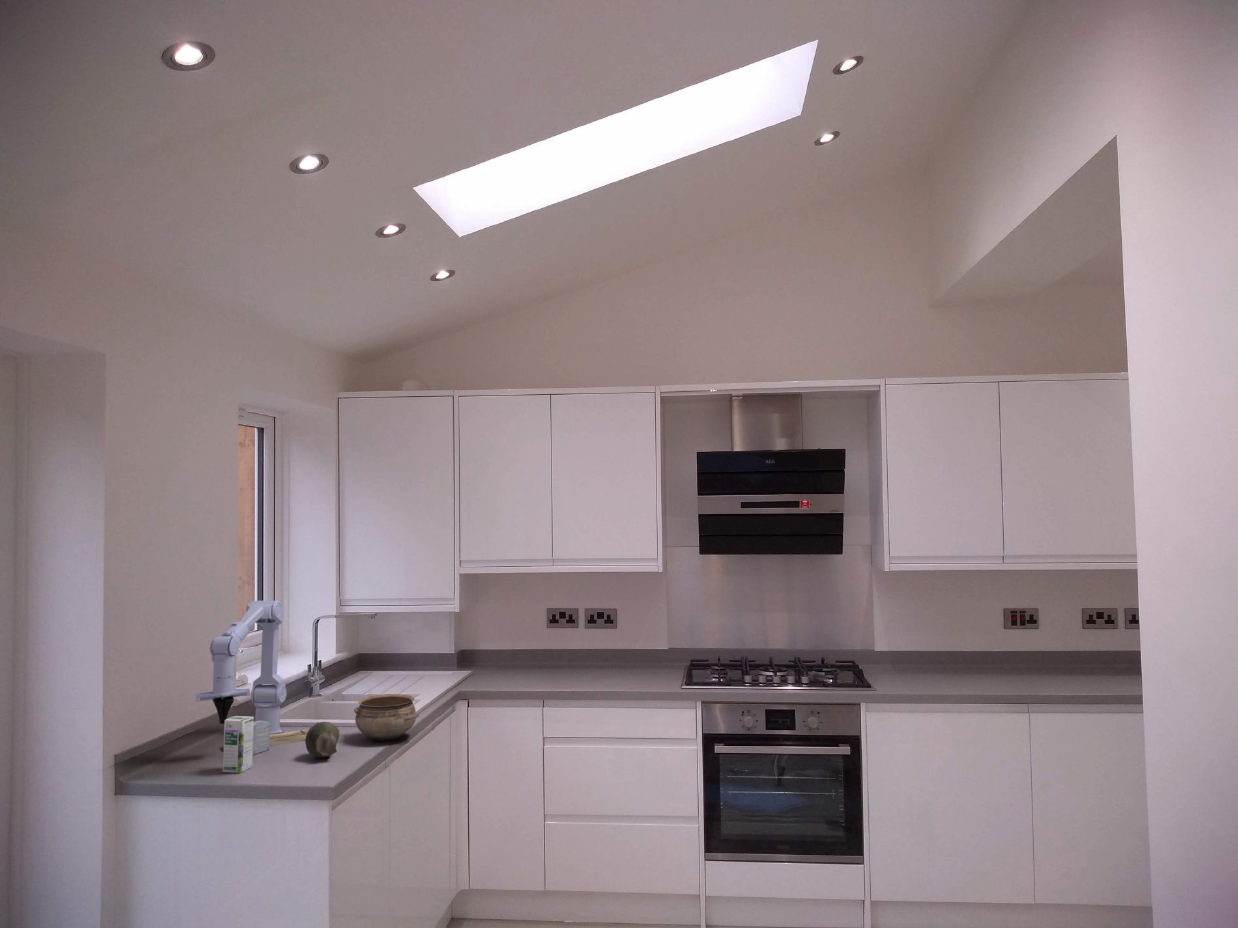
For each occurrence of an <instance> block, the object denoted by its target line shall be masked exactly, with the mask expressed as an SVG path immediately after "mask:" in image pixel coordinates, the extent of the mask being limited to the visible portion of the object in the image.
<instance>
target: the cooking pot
mask: <svg viewBox="0 0 1238 928" xmlns="http://www.w3.org/2000/svg"><path fill="white" fill-rule="evenodd" d="M414 701H415V697H414V696H412V695H407V694H401V693H400V694H398V693H393V694H392V693H390V694H389V693H388V694H387V693H386V694H377V695H370V696H367V697H363V698H361V699H359V700H358V701H357V703H358V705H359V706H356V707H354V708H353V711H354V713H355V718H354V720H355V721H354V722H355V726H356V728H357V729H358V731H360V732H361V733H362V734H364V736H367V737H368V738H371V739H373V740H375V741H376V740H377V741H376V742H391V741H395V740H396V739H397V738H399V737H401V736H402V735H404V734H405V733H407V732H409V731H410V730H411V728H413V726H414V725H415V723H416V720H417V718H419V717H420V714H419V713H417V711H416V707H415V705H414Z"/></svg>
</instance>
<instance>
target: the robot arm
mask: <svg viewBox="0 0 1238 928" xmlns="http://www.w3.org/2000/svg"><path fill="white" fill-rule="evenodd" d="M283 620H284V605H283V603H282V602H281V601H280V600H278V599H276V600H256V599H255V600H254V599H252V600H249V602H248V603H247V604H246V609H245V613H244V615H243V616H242V617H241V618H240V619H239V621H233V622H232V623H231V624H230V626H229V627H228V628H227V629H226V630H225V631H224V632H223V633H222V634H221V635H217V636H215V637H214V638H213V639H212V640H211V642H210V646H209V652H210V654H211V662H213V666H212V667H213V668H212V670H213V671H212V673H213V675H212V691H208V692H201V693H196V694H195V702H202V701H203V702H204V701H211V700H212V702H213V705H214V707H215V709H216V712H217V716H218V720H219V724H220V725H223V724H224V722H225V720H226V719H228V714H229V712H230V710H231V707H232V706H233V703H234V702H235V698H239V697H250V700H251V702H252V704H254V707H256V709H255V719H254V720H255V721H254V722H256V721H259V720H260V721H267V722H270V735H273V734H280V733H284V730H283V729H281V728H280V726H281V722H280V721H281V705H282V704H283V703H284V702H285V700H286V698H287V693H288V692H287V688H286V679H284V678H283V677H282V676H280V675H279V674H278V661H279V657H278V655H279V654H278V653H279V636H280V635H279V630H280V625H282V624H283ZM255 624H258V625H259V626H260V628H262V636H261V659H260V661H261V662H260V675H259V677H257V678H256V679H255V680H254V681H252V682H253V683H252V687H251V689H250V688H249V687H248V688H235V666H236V665H235V664H236V655H237V654H238V653H239V649H240V646H241V645H242V642H243V641H244V640H245V638H247V636H248V635H249V632H250V628H251V627H253V625H255Z"/></svg>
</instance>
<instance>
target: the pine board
mask: <svg viewBox="0 0 1238 928" xmlns="http://www.w3.org/2000/svg"><path fill="white" fill-rule="evenodd" d="M308 731H309V729H303V730H302V729H301V730H295V731H288V732H283V733H277V734H270V742H269V747H271V746H276V745H282V744H283V745H284V744H289V743H296V742H305V740H306V735H307V732H308ZM222 742H223V743H222V748H223V749H224V740H223V741H222Z"/></svg>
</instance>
